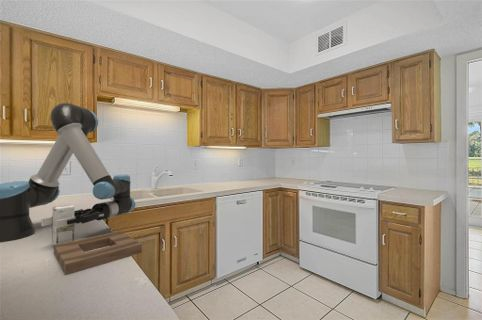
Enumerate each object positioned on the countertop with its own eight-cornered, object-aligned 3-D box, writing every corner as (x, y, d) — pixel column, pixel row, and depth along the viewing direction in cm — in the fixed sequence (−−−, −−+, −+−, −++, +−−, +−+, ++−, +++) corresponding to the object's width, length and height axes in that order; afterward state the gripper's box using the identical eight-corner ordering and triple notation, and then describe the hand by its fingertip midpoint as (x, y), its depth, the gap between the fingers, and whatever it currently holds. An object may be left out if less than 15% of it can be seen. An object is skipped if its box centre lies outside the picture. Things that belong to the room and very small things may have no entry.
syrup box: (70, 239, 93) (69, 203, 93) (74, 243, 89) (74, 205, 89) (52, 243, 89) (51, 206, 89) (56, 247, 85) (56, 208, 85)
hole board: (53, 253, 82) (53, 244, 82) (120, 237, 98) (119, 230, 98) (65, 274, 67) (65, 264, 67) (141, 252, 83) (141, 244, 83)
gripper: (121, 220, 103) (68, 236, 81) (88, 216, 109) (31, 230, 88) (121, 203, 103) (68, 215, 81) (88, 200, 109) (31, 211, 88)
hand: (49, 223), depth 84 cm, fingers closed on syrup box, 7 cm apart
